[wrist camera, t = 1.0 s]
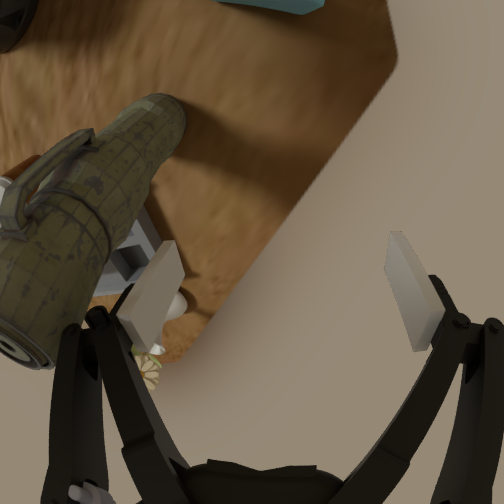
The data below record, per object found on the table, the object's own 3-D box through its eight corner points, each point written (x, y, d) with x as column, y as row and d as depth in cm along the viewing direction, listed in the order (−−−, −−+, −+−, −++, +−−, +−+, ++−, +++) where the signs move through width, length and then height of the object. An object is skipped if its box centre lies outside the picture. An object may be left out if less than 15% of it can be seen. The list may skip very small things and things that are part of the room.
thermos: (136, 160, 39) (20, 378, 14) (125, 88, 31) (-82, 267, 6) (191, 155, 39) (113, 405, 14) (185, 79, 31) (-14, 275, 6)
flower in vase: (198, 303, 64) (186, 407, 45) (162, 315, 67) (145, 408, 49) (162, 268, 56) (135, 383, 37) (126, 284, 59) (96, 385, 41)
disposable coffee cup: (55, 147, 36) (14, 183, 27) (60, 193, 42) (27, 234, 33) (19, 146, 34) (-22, 179, 25) (25, 189, 40) (-8, 226, 32)
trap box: (23, 214, 44) (6, 235, 39) (127, 170, 40) (110, 193, 35) (72, 282, 59) (62, 304, 54) (175, 265, 55) (169, 292, 50)
